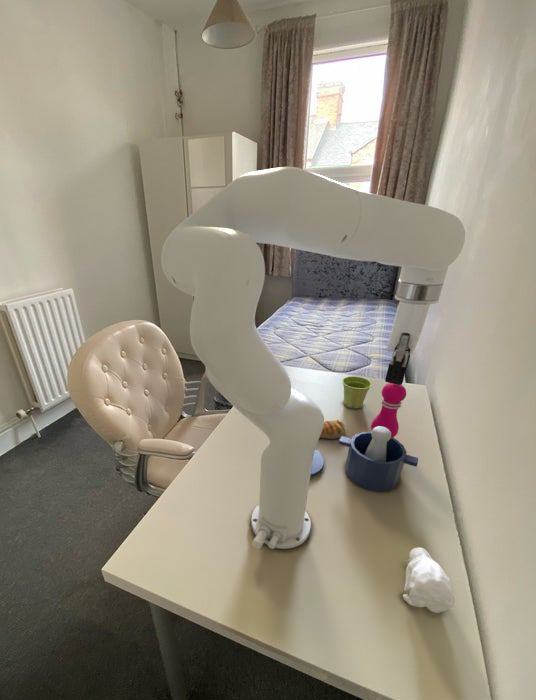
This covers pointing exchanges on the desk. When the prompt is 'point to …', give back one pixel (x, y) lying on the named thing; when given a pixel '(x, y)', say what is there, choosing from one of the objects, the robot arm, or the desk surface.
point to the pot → (375, 463)
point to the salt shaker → (378, 444)
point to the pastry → (333, 430)
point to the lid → (317, 463)
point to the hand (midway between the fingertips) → (396, 374)
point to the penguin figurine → (427, 583)
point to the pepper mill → (390, 408)
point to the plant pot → (355, 391)
